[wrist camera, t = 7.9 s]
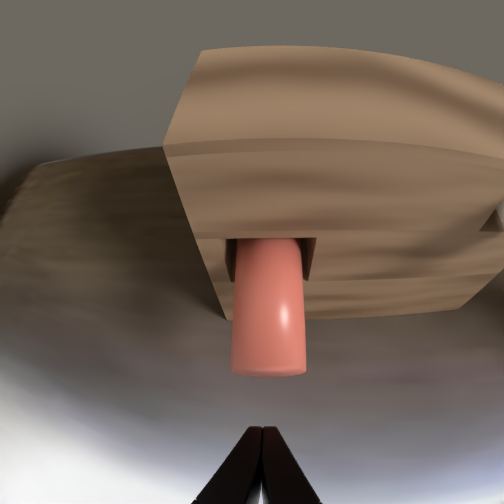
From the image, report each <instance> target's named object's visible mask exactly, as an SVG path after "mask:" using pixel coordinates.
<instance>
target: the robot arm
mask: <svg viewBox="0 0 504 504" xmlns="http://www.w3.org/2000/svg"><path fill="white" fill-rule="evenodd" d="M261 483H262V497H263V504H322V502H320V499H319V498H318V496H317V494H316V493H315V491H314V490H313V488H312V486H311V485H310V483H309V481H308V480H307V478H306V477H305V475H304V473H303V472H302V470H301V468H300V467H299V465H298V463H297V461H296V460H295V458H294V456H293V455H292V453H291V451H290V449H289V448H288V446H287V444H286V443H285V441H284V439H283V437H282V436H281V434H280V432H279V430H278V428H277V427H275V426H265V427H263V429H262V427H260V426H250V427H248V428H247V430H246V431H245V433H244V434H243V436H242V437H241V438H240V440H239V441H238V443H237V444H236V446H235V447H234V448H233V450H232V451H231V452H230V454H229V455H228V457H227V458H226V459H225V461H224V462H223V463H222V465H221V466H220V467H219V469H218V470H217V471H216V473H215V474H214V475H213V477H212V478H211V479H210V481H209V482H208V483H207V484H206V486H205V487H204V488H203V490H202V491H201V492H200V493H199V495H198V496H197V497H196V500H194V501H193V502H192V503H191V504H258V503H259V497H260V492H261Z"/></svg>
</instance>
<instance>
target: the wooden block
mask: <svg viewBox="0 0 504 504" xmlns="http://www.w3.org/2000/svg"><path fill="white" fill-rule="evenodd" d="M162 146H163V149H164V152H165V155H166V158H167V161H168V164H169V167H170V170H171V173H172V176H173V179H174V181H175V184H176V187H177V190H178V193H179V196H180V199H181V201H182V204H183V207H184V210H185V213H186V215H187V218H188V221H189V224H190V226H191V229H192V232H193V234H194V237H195V240H196V242H197V245H198V248H199V250H200V253H201V256H202V258H203V261H204V264H205V266H206V269H207V271H208V274H209V276H210V279H211V282H212V284H213V287H214V289H215V292H216V294H217V297H218V299H219V302H220V304H221V307H222V309H223V312H224V314H225V316H226V319H227V320H233V307H234V288H235V270H236V252H237V238H300V247H301V262H302V278H303V296H304V316H305V320H319V319H344V318H363V317H379V316H393V315H406V314H417V313H428V312H438V311H447V310H456V309H459V308H460V307H461V306H462V305H464V304H465V303H466V302H467V301H468V300H470V299H471V298H472V297H473V296H474V295H475V294H476V293H478V292H479V291H480V290H481V289H482V288H483V287H484V286H485V285H487V284H488V283H489V282H490V281H491V280H492V279H493V278H494V277H495V276H496V275H497V274H498V273H499V272H500V271H501V270H502V269H503V268H504V227H503V224H502V222H501V220H500V217H499V215H498V213H497V211H496V207H497V206H498V204H499V203H500V201H501V200H502V199H503V197H504V85H502V84H500V83H497V82H494V81H492V80H489V79H486V78H483V77H480V76H477V75H474V74H471V73H467V72H464V71H461V70H457V69H454V68H450V67H446V66H443V65H439V64H434V63H430V62H426V61H422V60H417V59H412V58H407V57H402V56H396V55H390V54H384V53H377V52H370V51H362V50H353V49H343V48H331V47H314V46H313V47H312V46H252V47H235V48H222V49H212V50H203V51H202V52H201V54H200V56H199V58H198V60H197V62H196V64H195V66H194V69H193V71H192V73H191V75H190V78H189V80H188V82H187V84H186V87H185V89H184V91H183V94H182V96H181V99H180V101H179V103H178V106H177V108H176V111H175V114H174V116H173V118H172V121H171V123H170V126H169V128H168V131H167V134H166V136H165V139H164V142H163V144H162Z"/></svg>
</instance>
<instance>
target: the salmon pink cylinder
mask: <svg viewBox="0 0 504 504" xmlns="http://www.w3.org/2000/svg"><path fill="white" fill-rule="evenodd" d="M231 372H233V373H235V374H239V375H244V376H251V377H285V376H293V375H298V374H302V373H304V372H306V341H305V316H304V296H303V278H302V262H301V247H300V238H237V252H236V270H235V288H234V307H233V327H232V347H231Z"/></svg>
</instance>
